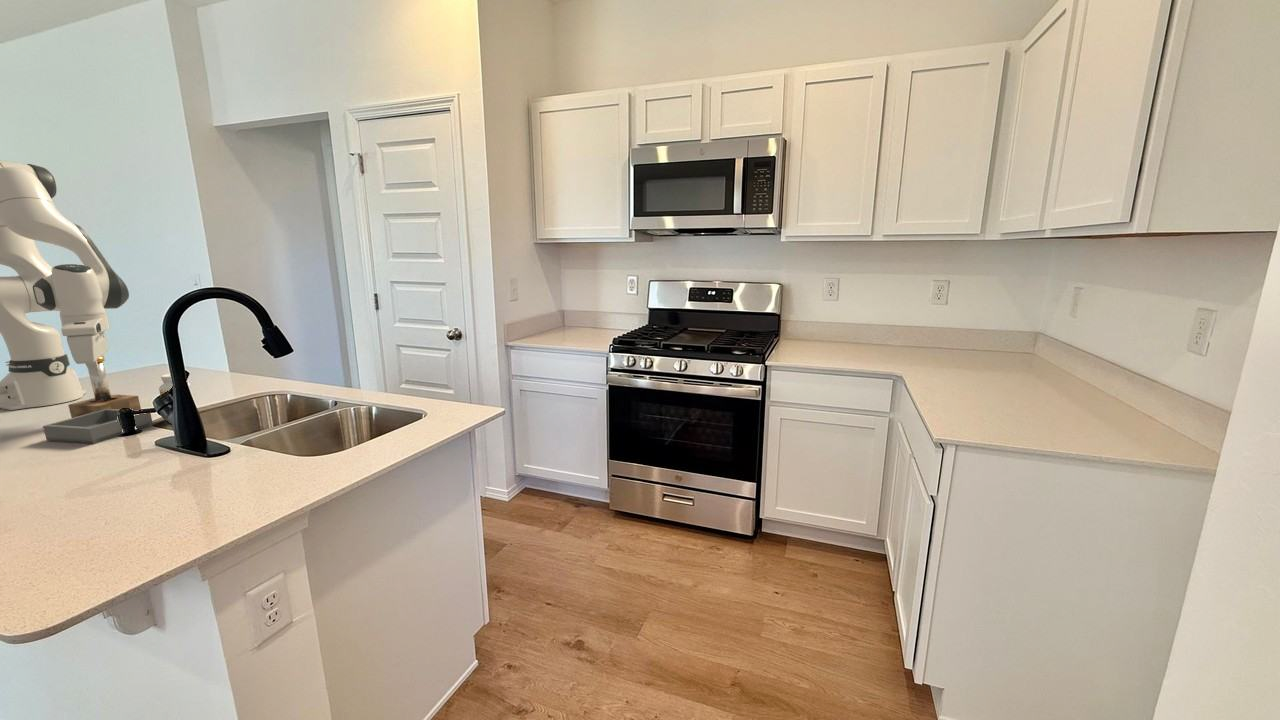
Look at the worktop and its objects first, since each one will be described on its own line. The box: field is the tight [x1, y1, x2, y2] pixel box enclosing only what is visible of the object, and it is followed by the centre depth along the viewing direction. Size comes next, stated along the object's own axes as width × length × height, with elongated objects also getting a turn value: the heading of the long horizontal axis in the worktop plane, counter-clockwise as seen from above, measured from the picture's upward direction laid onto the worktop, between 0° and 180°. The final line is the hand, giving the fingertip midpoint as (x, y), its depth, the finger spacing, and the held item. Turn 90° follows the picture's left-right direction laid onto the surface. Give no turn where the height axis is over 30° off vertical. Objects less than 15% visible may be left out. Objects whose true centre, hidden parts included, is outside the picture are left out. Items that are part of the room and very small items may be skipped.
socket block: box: [67, 394, 142, 419], centre depth 148 cm, size 10×10×5 cm
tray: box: [42, 409, 154, 445], centre depth 135 cm, size 14×14×4 cm
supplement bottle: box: [158, 373, 193, 397], centre depth 146 cm, size 7×7×13 cm
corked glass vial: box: [87, 355, 112, 401], centre depth 146 cm, size 4×4×12 cm
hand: (97, 373), depth 145 cm, fingers closed on corked glass vial, 3 cm apart
